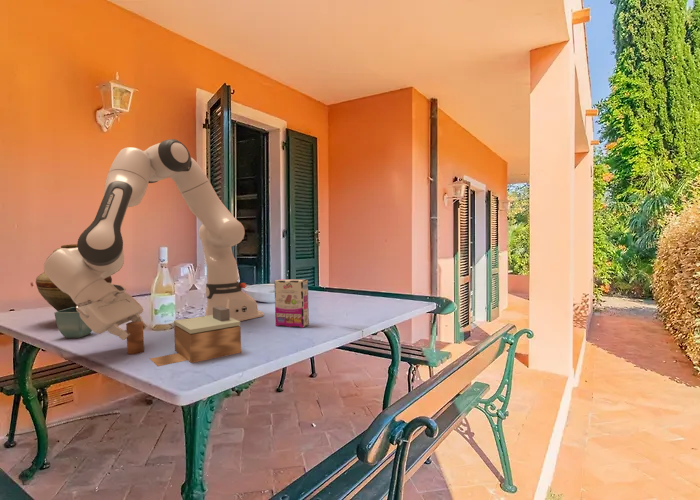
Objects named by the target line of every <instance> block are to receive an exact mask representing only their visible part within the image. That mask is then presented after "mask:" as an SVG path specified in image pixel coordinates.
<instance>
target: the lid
mask: <svg viewBox="0 0 700 500" xmlns="http://www.w3.org/2000/svg"><path fill="white" fill-rule="evenodd" d="M173 325H176V326H178V327H180V328H181V329H183V330H185V331H187V332H188V333H190V334H192V333H198V332H204V331H210V330H216V329H222V328H228V327H233V326H241V321H237V320H235V319H232V318H230V313H229V309H228V308H225V307H222V306H218V307H213V315H209V316H205V315H204V316H198V317H197V316H195V317H190V318H183V319H175V320H173Z"/></svg>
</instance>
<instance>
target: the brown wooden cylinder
mask: <svg viewBox="0 0 700 500" xmlns="http://www.w3.org/2000/svg"><path fill="white" fill-rule="evenodd" d="M143 322H144V321H143ZM143 322H142V321H136V322H132V321H128V322H126V323H125V325H126V329H125V330H127V331H128V332H129V333H130V336H129V337H128V338H127V339H126V347H127V349H126V350H127V354H128V355H137V354H138V355H139V354H142V353H144V351H145V341H144V330H143Z"/></svg>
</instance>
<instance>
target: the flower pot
mask: <svg viewBox="0 0 700 500" xmlns="http://www.w3.org/2000/svg"><path fill="white" fill-rule="evenodd" d="M76 309H77V308H76V307H72V308H68V309H64V310H61V311H57V310H56V311H54V317H55V324H56V326H57V329H58V331H59V332H60V333H61V335H62V336H63V337H64V338H65V339H66V338H67V339H69V338H72V339H73V338H75V339H76V338H78V339H79V338H83V337H85V336H88V335H91V333H92V332H93V331H92V330H91V329H90V328H89V327H88V326H87V325H86V324H85V323H84V321H83V320H82V319H81V318H80V315H79V314H80V313H79V312H78V311H77V310H76Z"/></svg>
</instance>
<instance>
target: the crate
mask: <svg viewBox="0 0 700 500" xmlns="http://www.w3.org/2000/svg"><path fill="white" fill-rule="evenodd" d="M173 325H174V326H173V330H174V331H173V333H174V351H175V353H172V354H171V353H170V354H166V355H161V356H160V355H159V356H154V357H151V358H149V360H150V361H151V362H152V363H153V364H154V365H156V367H161V366H162V367H163V366H167V365H172V364H176V363H180V362H186V361H187V362H189V363H191V364H194V363H198V362H203V361H208V360H212V359H217V358H222V357H227V356H232V355H236V354H241V353H242V338H241V337H242V333H241V331H242V330H241V325H239V326H233V327H228V328H222V329H216V330H210V331H204V332H198V333H192V334H190V333H188V332H187V331H185V330H183V329H181V328H180V327H178V326H176V325H175V324H173Z"/></svg>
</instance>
